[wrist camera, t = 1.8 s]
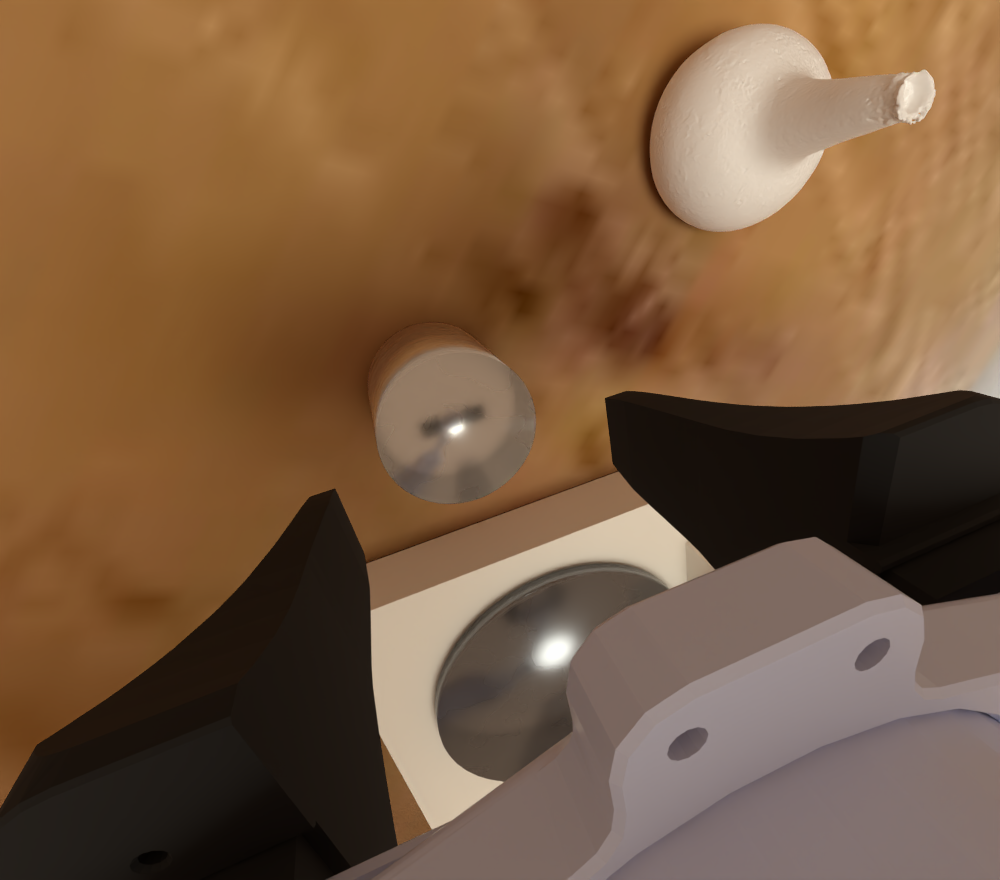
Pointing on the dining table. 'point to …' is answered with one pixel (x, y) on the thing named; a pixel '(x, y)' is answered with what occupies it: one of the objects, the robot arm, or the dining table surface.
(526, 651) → the pan
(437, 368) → the cylinder
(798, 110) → the garlic bulb
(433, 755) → the base
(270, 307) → the dining table surface
